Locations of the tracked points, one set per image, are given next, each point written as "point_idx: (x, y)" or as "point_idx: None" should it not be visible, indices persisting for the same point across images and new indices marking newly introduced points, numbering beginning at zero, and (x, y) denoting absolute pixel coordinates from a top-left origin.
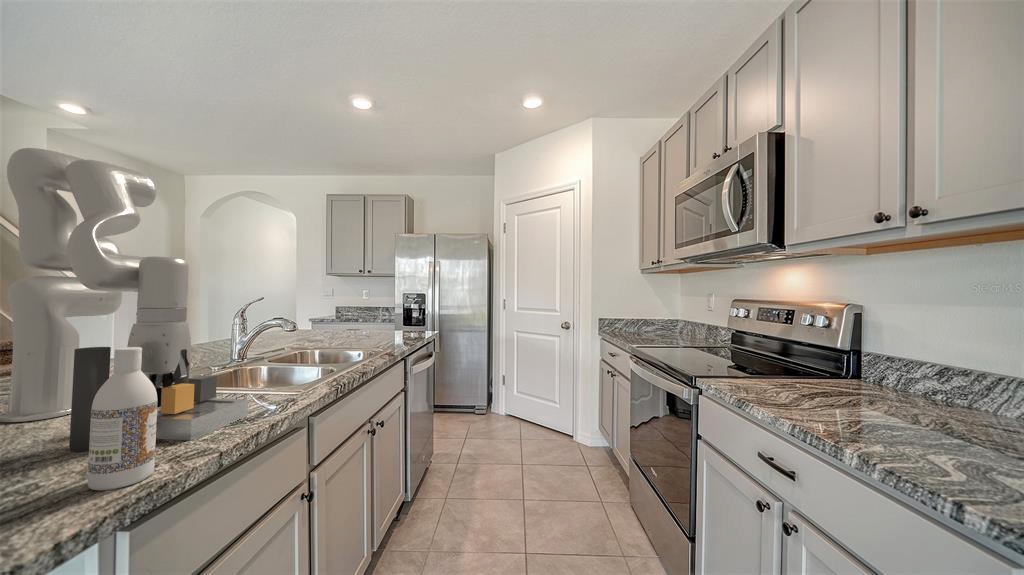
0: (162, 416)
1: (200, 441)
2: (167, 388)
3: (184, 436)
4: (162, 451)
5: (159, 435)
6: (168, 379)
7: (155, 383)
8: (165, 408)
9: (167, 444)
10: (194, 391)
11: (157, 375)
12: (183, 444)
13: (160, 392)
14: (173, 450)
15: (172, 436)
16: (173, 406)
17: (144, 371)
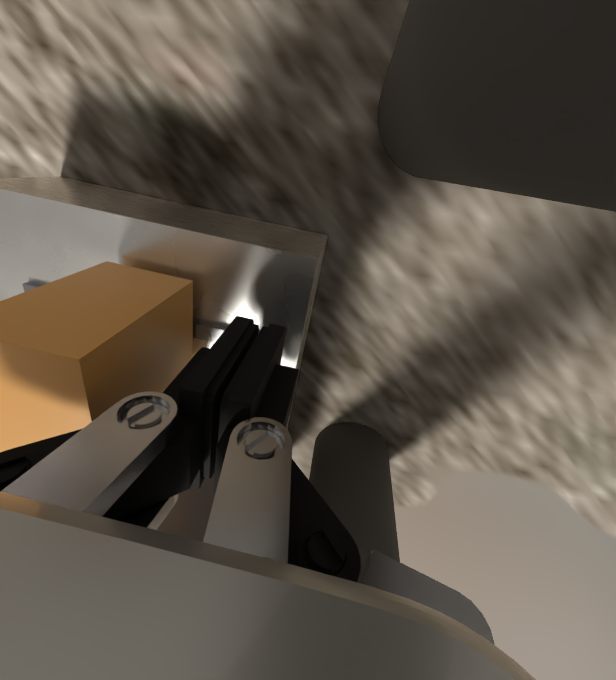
0: (167, 253)
1: (13, 163)
2: (18, 343)
3: (74, 183)
4: (42, 25)
5: (197, 210)
6: (11, 452)
7: (220, 467)
8: (145, 282)
9: (109, 131)
10: (187, 496)
11: (76, 509)
12: (43, 127)
13: (180, 384)
14: (8, 39)
15: (134, 196)
16: (81, 275)
17: (93, 556)
